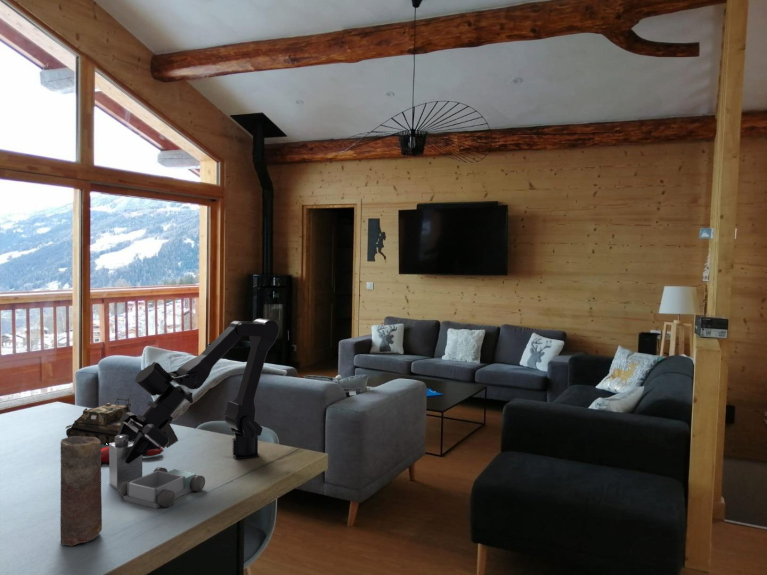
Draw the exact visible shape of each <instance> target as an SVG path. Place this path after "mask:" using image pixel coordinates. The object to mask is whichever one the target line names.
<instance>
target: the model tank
mask: <svg viewBox="0 0 767 575" xmlns="http://www.w3.org/2000/svg"><path fill="white" fill-rule="evenodd" d="M119 400H121V401H125V402H126V401H127V403H125V405H120V404H119ZM131 404H132V403H130V397H127V398H119V397H117V398H116V401H115V403H114V404H111V403H110V402H107V403H106V404H104V405H100V406H97V407H93V408H89V409H88V408H87V407H86V408H84V409H83V411H82V414H81V415H80V416H79V417H78V418H77V419H76V420H74V422H73V423H72V424H69V425H66V426H65V429H66V431H65V435H66V438H68V437H72V436H80V437H96V438H98V439H99V440H100V441H101V444H105V445H104V446H107V445H106V443H107V444H109V443H114V442H115V436H117V435H118V432H119V428H120V425H121V423H120V422H121V421H122V420H121V419H120V418H121V417H122V416H123V415H124V414H125V413H128V412H131V413H132V411H131ZM122 422H123V423H124V421H122ZM137 433H138V432H137ZM142 434H143V435H144V436H145V435H146V434H144V433H142Z"/></svg>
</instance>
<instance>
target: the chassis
mask: <svg viewBox="0 0 767 575" xmlns="http://www.w3.org/2000/svg"><path fill="white" fill-rule="evenodd" d="M205 484H206V478H205V476H203V475H199V474H197V473H194V472H189V471H184V470H180V469H175V468H174V469H171V470H168V469H167V468H165V467H162V466H158V467H156V468H154V470H153V471H152V472H151V473H148V474H145V475H142V477H141V478H138V479H136V480H133V481H128V480H126V481H124V482H122V483H121V485H120V487H119V490H118V495H119V496H121V497H122V498H123V501H124V500H125V502H129V503H133V504H137V505H141V506H145V507H149V508H153V509H158V508H160V507H164V508H169V507H171V506H172V505H173V504H174V502H175V500H176V498H177V499H178V498H180V497H182V495H183V496H185V495H187V494H189V493H190V492H191V493H192V492H193V491H194V492H199V493H200V492H202V490H203V489H204V488H205Z"/></svg>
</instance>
